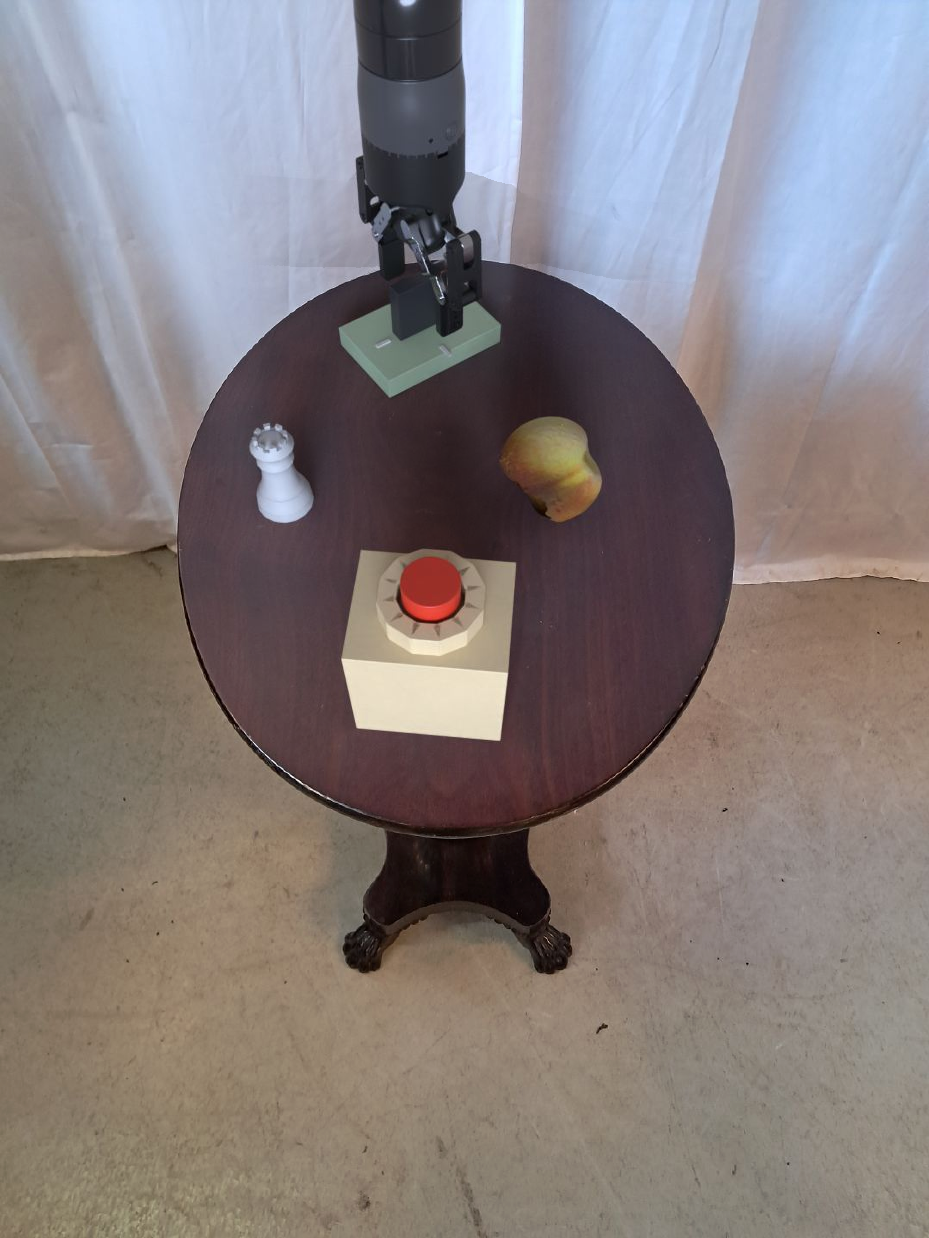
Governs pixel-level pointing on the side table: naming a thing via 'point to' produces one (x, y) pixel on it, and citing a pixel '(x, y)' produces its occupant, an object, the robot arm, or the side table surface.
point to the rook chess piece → (279, 476)
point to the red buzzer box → (429, 650)
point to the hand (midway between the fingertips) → (420, 303)
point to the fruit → (552, 466)
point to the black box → (413, 305)
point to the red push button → (430, 589)
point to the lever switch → (415, 347)
